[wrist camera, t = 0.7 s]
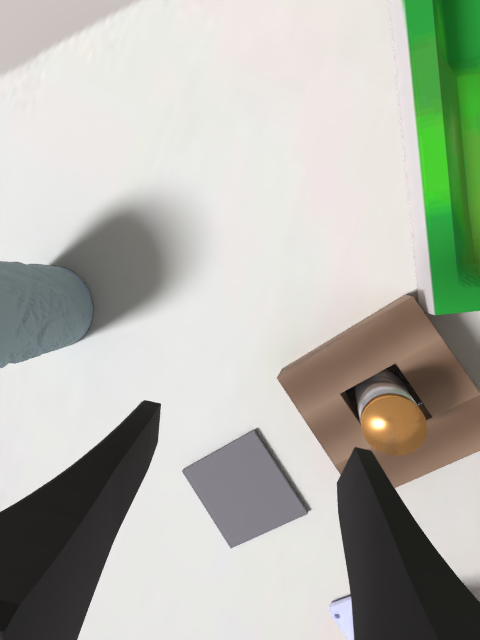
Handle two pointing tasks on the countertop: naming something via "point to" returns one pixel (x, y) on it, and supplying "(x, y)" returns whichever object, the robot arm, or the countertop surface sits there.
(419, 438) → the glass jar
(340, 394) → the housing
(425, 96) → the tray
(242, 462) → the mat
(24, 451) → the countertop surface
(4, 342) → the grey cup
